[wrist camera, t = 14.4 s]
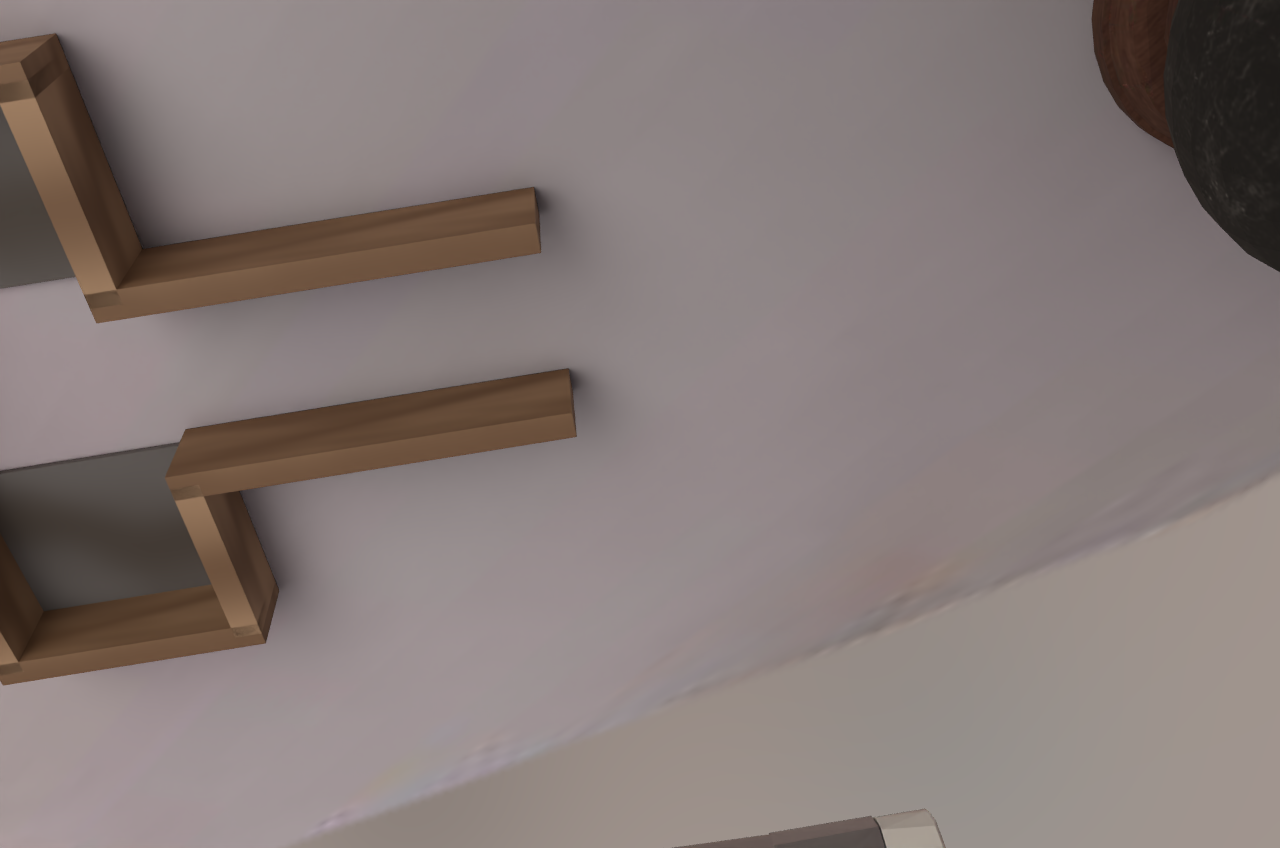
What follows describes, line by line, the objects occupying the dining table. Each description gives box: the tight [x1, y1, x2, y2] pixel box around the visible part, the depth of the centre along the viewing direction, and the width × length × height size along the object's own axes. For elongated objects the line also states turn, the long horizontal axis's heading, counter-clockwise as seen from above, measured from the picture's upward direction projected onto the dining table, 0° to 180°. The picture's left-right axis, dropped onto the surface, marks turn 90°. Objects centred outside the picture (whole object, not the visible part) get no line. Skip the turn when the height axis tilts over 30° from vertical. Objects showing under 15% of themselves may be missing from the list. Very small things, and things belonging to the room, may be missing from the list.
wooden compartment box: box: [0, 34, 577, 685], centre depth 39 cm, size 22×37×3 cm, turn 98°
